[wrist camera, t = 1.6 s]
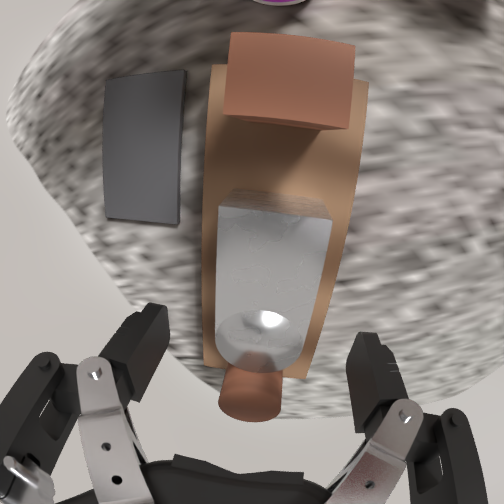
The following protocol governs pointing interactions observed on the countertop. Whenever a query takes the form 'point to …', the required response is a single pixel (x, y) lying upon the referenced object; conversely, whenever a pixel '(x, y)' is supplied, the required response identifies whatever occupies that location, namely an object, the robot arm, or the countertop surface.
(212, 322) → the plane body
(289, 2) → the supplement bottle
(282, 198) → the lever cap
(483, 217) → the countertop surface
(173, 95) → the rubber mat
